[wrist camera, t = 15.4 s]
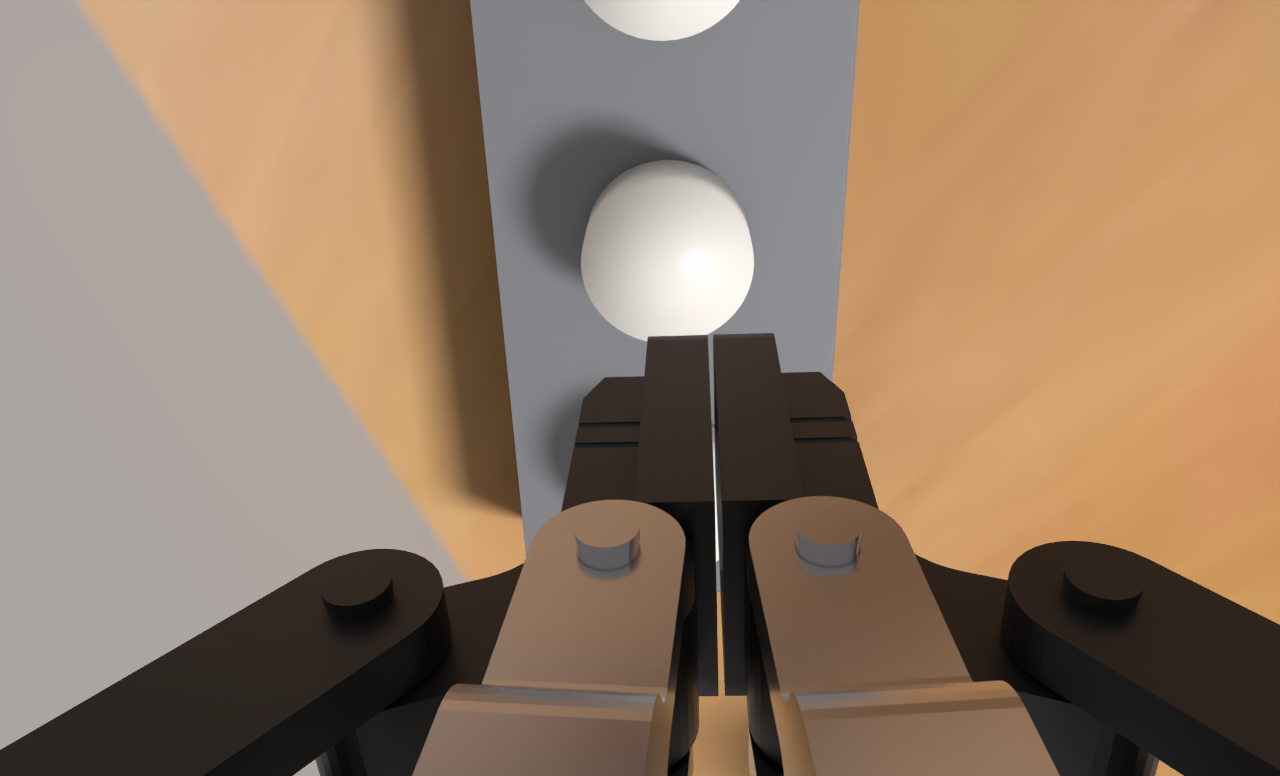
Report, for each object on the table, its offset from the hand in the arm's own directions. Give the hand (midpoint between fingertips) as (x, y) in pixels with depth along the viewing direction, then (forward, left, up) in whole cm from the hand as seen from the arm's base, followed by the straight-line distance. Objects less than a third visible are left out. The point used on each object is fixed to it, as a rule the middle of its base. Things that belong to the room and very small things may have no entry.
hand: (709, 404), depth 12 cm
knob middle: (+1, +4, -20) cm, 21 cm away
